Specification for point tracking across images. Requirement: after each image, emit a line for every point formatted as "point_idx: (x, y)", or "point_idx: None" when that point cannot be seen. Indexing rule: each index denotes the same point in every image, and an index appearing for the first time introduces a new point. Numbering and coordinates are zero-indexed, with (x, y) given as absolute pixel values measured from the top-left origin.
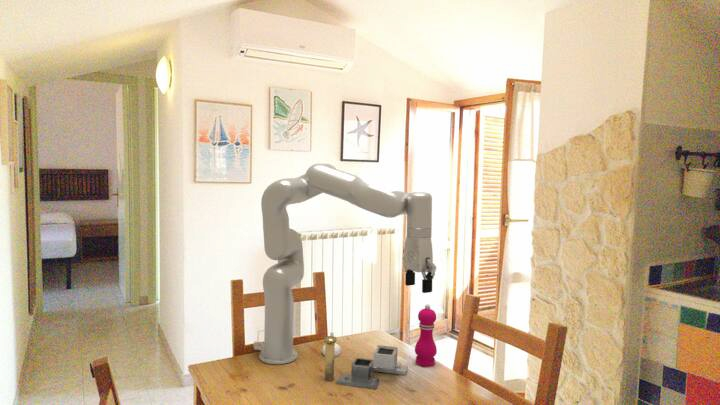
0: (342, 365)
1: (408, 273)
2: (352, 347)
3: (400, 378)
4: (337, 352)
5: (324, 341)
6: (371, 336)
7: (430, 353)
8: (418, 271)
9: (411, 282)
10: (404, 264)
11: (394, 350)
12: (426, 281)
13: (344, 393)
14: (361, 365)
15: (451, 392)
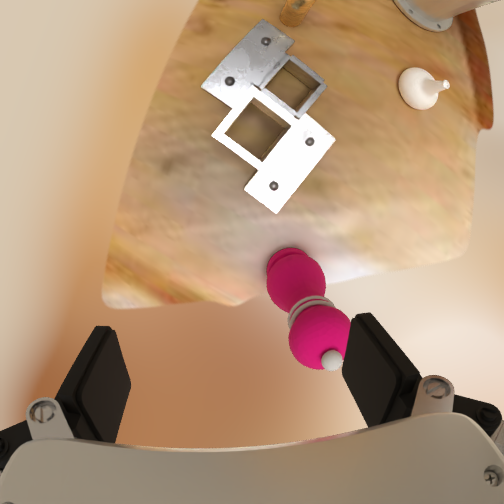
0: (351, 76)
1: (394, 392)
2: (429, 153)
3: (234, 168)
4: (403, 91)
5: None
6: (455, 227)
7: (267, 282)
8: (37, 439)
9: (352, 362)
10: (454, 434)
11: (254, 159)
12: (58, 399)
13: (211, 21)
14: (275, 72)
15: (135, 245)
